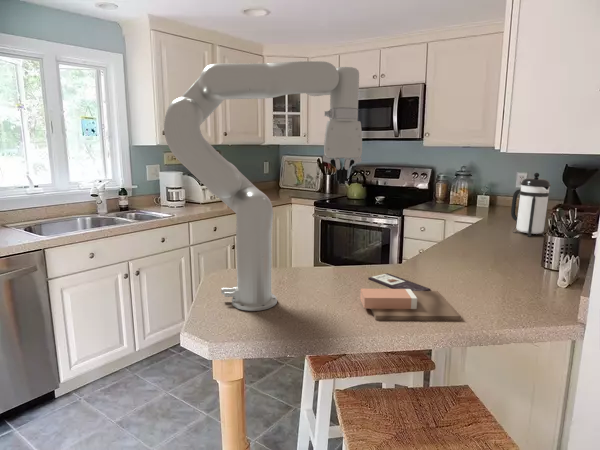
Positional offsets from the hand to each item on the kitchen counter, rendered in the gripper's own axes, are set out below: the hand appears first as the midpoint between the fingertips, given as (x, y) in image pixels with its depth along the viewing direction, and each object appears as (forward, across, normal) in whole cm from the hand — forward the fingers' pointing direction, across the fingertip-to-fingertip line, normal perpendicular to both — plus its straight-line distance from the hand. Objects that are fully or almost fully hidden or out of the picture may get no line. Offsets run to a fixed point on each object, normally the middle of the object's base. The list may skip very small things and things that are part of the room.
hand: (341, 183), depth 120 cm
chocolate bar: (+34, +20, +10) cm, 41 cm away
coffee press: (+33, +102, +85) cm, 137 cm away
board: (+33, +19, -8) cm, 39 cm away
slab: (+30, +6, -9) cm, 32 cm away
